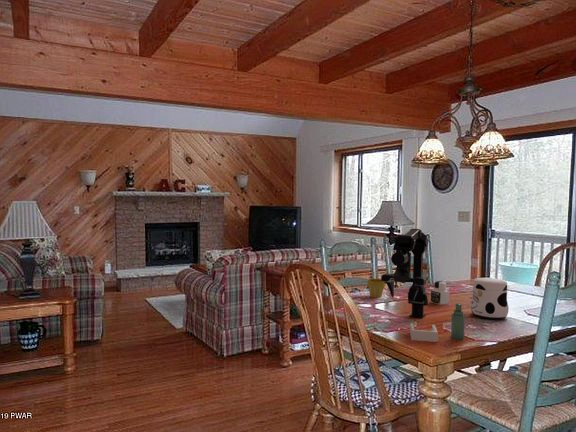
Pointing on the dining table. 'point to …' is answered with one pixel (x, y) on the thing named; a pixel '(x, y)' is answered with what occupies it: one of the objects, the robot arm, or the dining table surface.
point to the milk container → (489, 298)
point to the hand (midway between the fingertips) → (402, 298)
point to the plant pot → (376, 287)
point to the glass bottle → (458, 323)
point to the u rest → (424, 334)
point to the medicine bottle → (440, 293)
